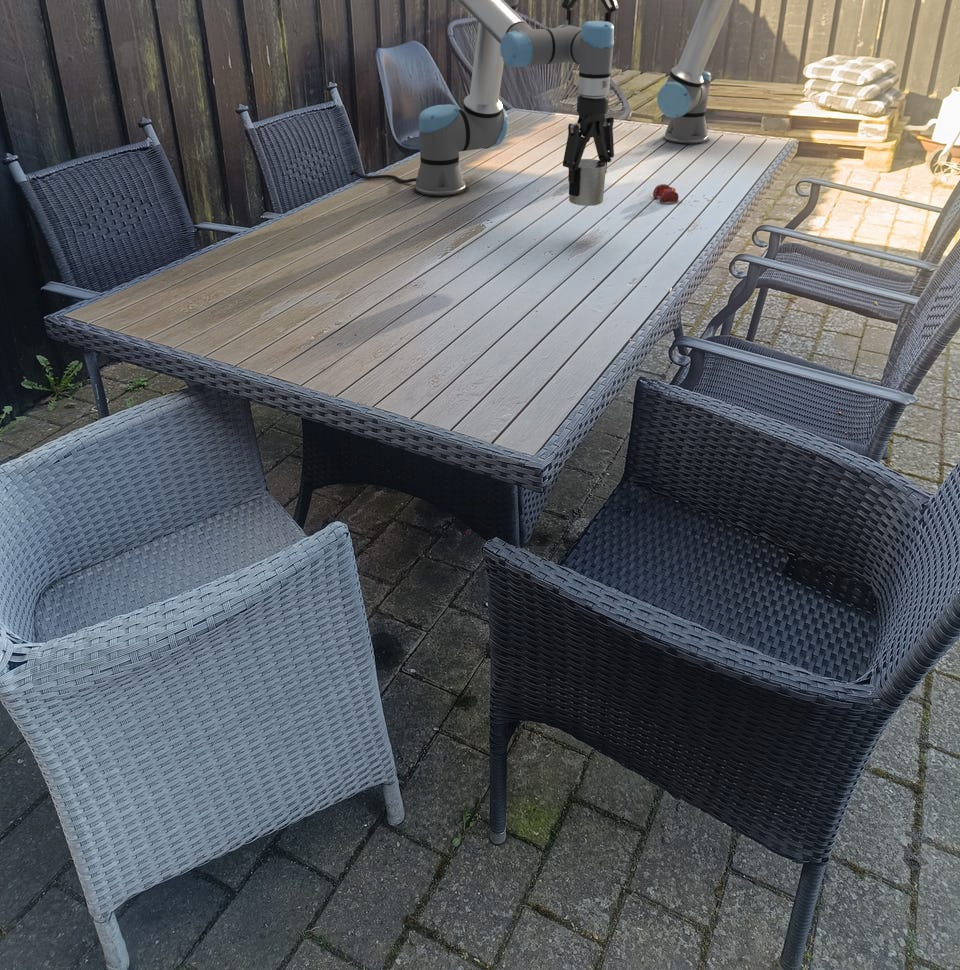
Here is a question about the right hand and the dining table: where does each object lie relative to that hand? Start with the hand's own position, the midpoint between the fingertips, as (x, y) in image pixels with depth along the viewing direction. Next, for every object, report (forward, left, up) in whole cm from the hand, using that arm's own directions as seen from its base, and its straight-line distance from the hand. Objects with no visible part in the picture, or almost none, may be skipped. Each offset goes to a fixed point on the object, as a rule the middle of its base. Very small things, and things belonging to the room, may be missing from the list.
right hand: (588, 32), depth 295 cm
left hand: (+106, +47, -21) cm, 118 cm away
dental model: (+61, +54, -34) cm, 88 cm away
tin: (+106, +47, -23) cm, 118 cm away
